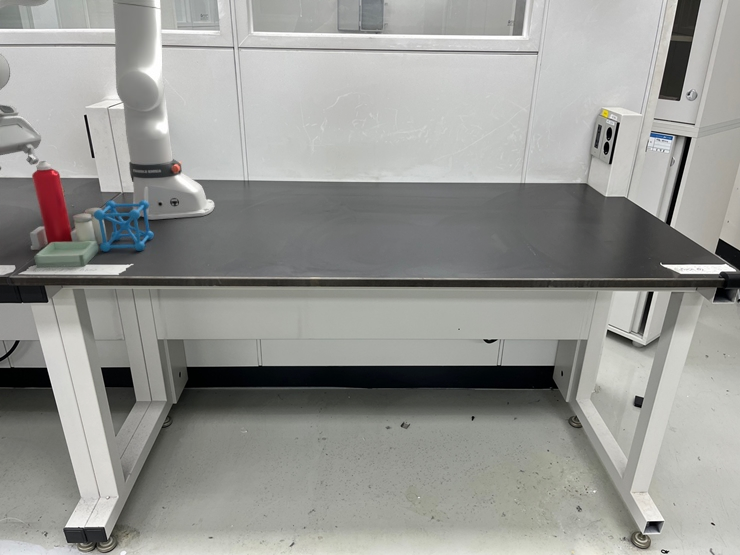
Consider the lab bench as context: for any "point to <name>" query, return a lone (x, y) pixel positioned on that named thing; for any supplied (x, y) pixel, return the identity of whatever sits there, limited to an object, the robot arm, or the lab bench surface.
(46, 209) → the bottle
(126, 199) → the lab bench surface
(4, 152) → the robot arm
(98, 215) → the molecular structure
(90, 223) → the assorted small pieces
